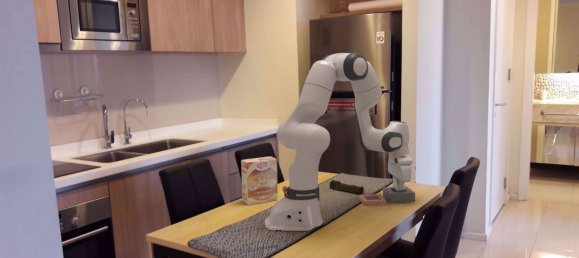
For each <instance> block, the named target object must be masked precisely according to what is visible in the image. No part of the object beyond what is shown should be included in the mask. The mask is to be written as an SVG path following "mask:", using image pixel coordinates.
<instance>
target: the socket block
mask: <svg viewBox="0 0 579 258" xmlns="http://www.w3.org/2000/svg"><path fill="white" fill-rule="evenodd" d="M382 197H383V198H384V199H385V200H386V201H388V202H389V203H391V204H394V203H408V202H409V203H410V202H415V201H416V192H415V191H414V190H412V189H410V188H409V187H408V186H407V185H405V192H394V191H393V186H387V187H382Z"/></svg>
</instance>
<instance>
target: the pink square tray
mask: <svg viewBox="0 0 579 258" xmlns="http://www.w3.org/2000/svg"><path fill="white" fill-rule="evenodd" d="M358 200H359V201H360V202H361V203H362V205H363V206H364V207H369V206H386V205H387V199H386V198H385V197H384V196H383V195H381V194H379V193H377V194H361V195H359V194H358Z"/></svg>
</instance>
